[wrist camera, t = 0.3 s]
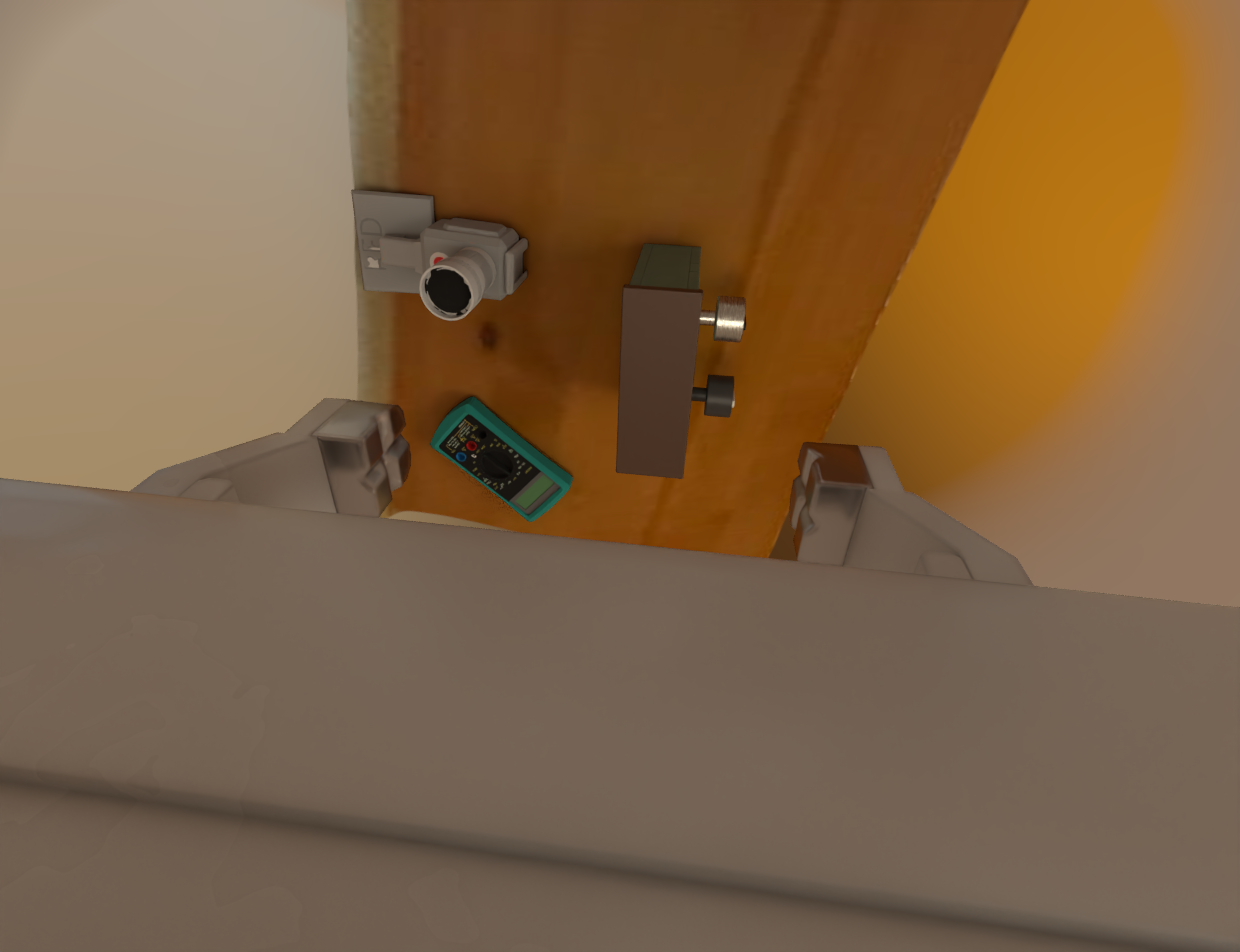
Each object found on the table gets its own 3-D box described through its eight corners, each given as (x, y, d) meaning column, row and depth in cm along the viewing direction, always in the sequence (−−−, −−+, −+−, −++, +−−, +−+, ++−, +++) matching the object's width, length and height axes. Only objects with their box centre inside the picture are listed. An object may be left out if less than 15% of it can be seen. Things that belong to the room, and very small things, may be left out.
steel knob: (747, 291, 53) (749, 306, 50) (741, 333, 55) (742, 349, 52) (680, 287, 53) (678, 301, 50) (677, 328, 55) (675, 344, 52)
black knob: (735, 369, 57) (737, 387, 54) (730, 406, 59) (731, 424, 56) (674, 365, 57) (671, 382, 54) (670, 401, 59) (668, 419, 56)
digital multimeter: (469, 389, 66) (460, 401, 64) (577, 476, 71) (572, 491, 68) (432, 431, 70) (421, 445, 67) (536, 512, 74) (530, 527, 72)
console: (704, 243, 56) (702, 292, 44) (688, 403, 64) (682, 479, 53) (640, 239, 56) (622, 287, 45) (632, 398, 65) (615, 473, 53)
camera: (489, 353, 51) (309, 325, 52) (527, 305, 61) (375, 282, 61) (487, 240, 46) (288, 212, 47) (529, 208, 56) (363, 185, 57)
